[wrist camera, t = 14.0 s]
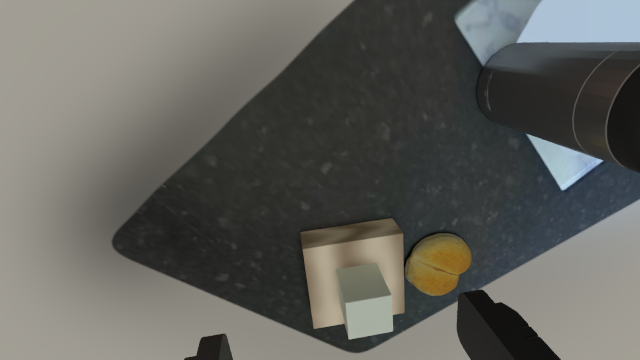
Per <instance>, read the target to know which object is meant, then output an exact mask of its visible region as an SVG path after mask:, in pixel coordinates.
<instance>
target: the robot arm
mask: <svg viewBox="0 0 640 360" xmlns="http://www.w3.org/2000/svg"><path fill="white" fill-rule="evenodd" d="M477 99H478V103H479V106H480V108H481V110H482V112H483V113H484V114H485V116H486V117H487V118H489V119H490V120H492V121H493V122H496V123H499V124H502V125H504V126H507V127H510V128H513V129H515V130H518V131H521V132H524V133H526V134H529V135H532V136H535V137H538V138H541V139H544V140H546V141H549V142H552V143H555V144H558V145H561V146H564V147H566V148H569V149H572V150H575V151H578V152H581V153H583V154H586V155H589V156H592V157H595V158H598V159H601V160H604V161H607V162H610V163H612V164H615V165H618V166H621V167H624V168H627V169H630V170H633V171H635V172H638V173H640V42H636V43H635V42H630V43H629V42H626V43H625V42H615V43H614V42H613V43H611V42H609V43H608V42H606V43H549V42H547V43H546V42H545V43H544V42H543V43H515V44H512V45H509V46H506V47H505V48H503V49H501V50H500V51H498V52H497V53H496V54H495V55H494V56H492V58H491V59H490V60H489V61H488V62H487V64H486V65H485V67H484V69H483V70H482V72H481V75H480V78H479V81H478V86H477ZM457 333H458V337H459V340H460V342H461V344H462V346H463V348H464V350H465V351H466V353H467V354H468V356H469V357H470V359H471V360H561V359H560V358H559V357H558V356H557V355H556V354H555V353H554V352H553V351H552V350H551V349H550V347H549V346H548V345H547V344H546V343H545V342H544V341H543V340H542V339H541V338H540V337H538V335H537V333H536V332H535V331H534V330H533V329H532V328H531V327H529V326H528V323H527V322H526V321H525V320H524V319H523V318H522V317H521V316H520V315H519V314H518V313H517V312H516V311H515V310H513V309H511V308H510V307H508V306H507V305H505V304H503V303H501V302H500V303H494V302H493V300H492V299H491V298H490V297H489V296H488V295H487V293H485V291H483V290H475V291H470V292H464V293H460V294H459V296H458V311H457ZM184 360H233V358H232V354H231V351H230V347H229V343H228V339H227V336H226V334H219V335H213V336H208V337H203V338H201V340H200V343H199V347H198V351H197V356H193V357H188V358H185V359H184Z"/></svg>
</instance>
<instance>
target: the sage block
mask: <svg viewBox="0 0 640 360" xmlns="http://www.w3.org/2000/svg"><path fill="white" fill-rule="evenodd" d="M336 276H337V286H338V295H339V303H340V307H341V311H342V315H343V319H344V323H345V326H346V330H347V334H348V338H349V339H354V338H360V337H365V336H371V335H376V334H381V333H387V332H392V331H393V316H392V295H391V293H390V291H389V288H388V286H387V284H386V282H385V280H384V278H383V276H382V274H381V272H380V270H379V267H378V265H377V263H371V264H365V265H359V266H353V267H347V268H341V269H336Z"/></svg>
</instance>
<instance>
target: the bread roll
mask: <svg viewBox="0 0 640 360" xmlns="http://www.w3.org/2000/svg"><path fill="white" fill-rule="evenodd" d="M470 264H471V252H470V250H469V247H468V246H467V245H466V243H465V242H464V241H463V240H462V239H461V238H460V237H458V236H456V235H454V234H449V233H439V234H435V235H431V236H428V237H426V238H424V239H422V240H421V241H420V242H419V243H418V244H417V245H416V246H415V247H414V248H413V250H412V253H411V255H410V256H409V258H408V259H407V261H406V264H405V276H406V278H407V279H408V281H409V282H411V283H412V284H413V285H414V286H415V287H416V288H417V289H419V290H420V291H421V292H425V293H426V294H429V295H431V296H434V295H444V294H446V293H448V292H450V291H451V290H453V289H454V288H455V287H456V285H457V283H458V279H459V274H461V273H463V272H465V271H466V270H467V269H468V268H469V266H470Z"/></svg>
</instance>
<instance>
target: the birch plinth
mask: <svg viewBox="0 0 640 360" xmlns="http://www.w3.org/2000/svg"><path fill="white" fill-rule="evenodd" d="M300 235H301V242H302V249H303V256H304V263H305V270H306V277H307V284H308V291H309V298H310V305H311V312H312V318H313V325H314V329H316V328H322V327H327V326H333V325H339V324H344V319H343V315H342V311H341V307H340V303H339V295H338V286H337V276H336V269H341V268H347V267H353V266H359V265H365V264H371V263H377V265H378V267H379V270H380V272H381V274H382V276H383V278H384V280H385V282H386V284H387V286H388V288H389V291H390V293H391V295H392V315H395V314H401V313H404V261H403V233H402V231H401V230H400V228H399V227H398V225H397V224H396V223H395V221H394V220H393V218H389V219H382V220H376V221H369V222H363V223H357V224H350V225H344V226H337V227H331V228H324V229H318V230H311V231H305V232H300Z"/></svg>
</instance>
